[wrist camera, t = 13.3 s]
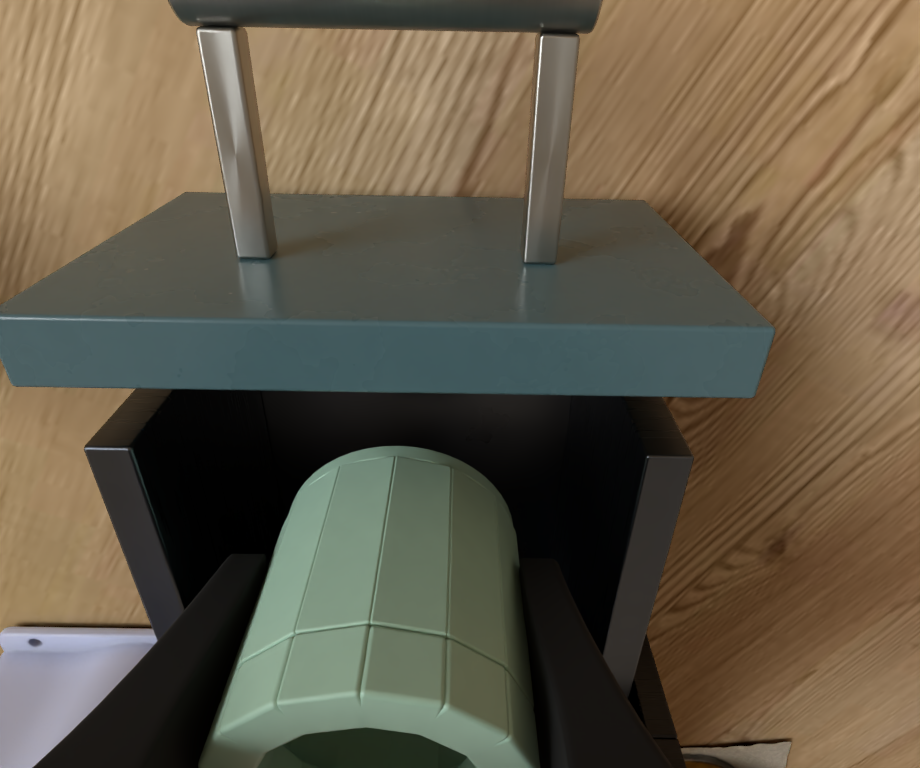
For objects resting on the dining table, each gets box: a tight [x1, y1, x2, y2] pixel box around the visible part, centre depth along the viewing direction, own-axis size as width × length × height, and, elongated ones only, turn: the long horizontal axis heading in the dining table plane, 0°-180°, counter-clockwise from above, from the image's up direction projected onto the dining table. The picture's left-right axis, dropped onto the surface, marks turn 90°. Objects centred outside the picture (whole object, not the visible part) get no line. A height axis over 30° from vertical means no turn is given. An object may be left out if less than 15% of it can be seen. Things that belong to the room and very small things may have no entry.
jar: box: [198, 446, 540, 768], centre depth 11 cm, size 5×5×5 cm
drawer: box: [0, 0, 775, 699], centre depth 14 cm, size 18×11×7 cm, turn 179°
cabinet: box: [628, 635, 687, 768], centre depth 20 cm, size 14×12×9 cm
